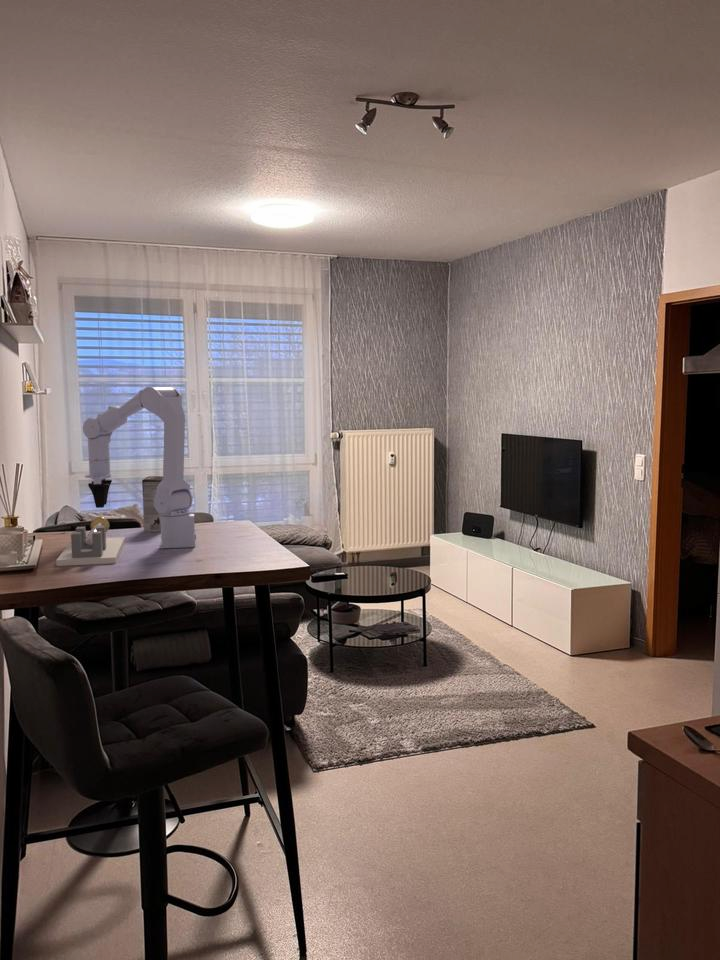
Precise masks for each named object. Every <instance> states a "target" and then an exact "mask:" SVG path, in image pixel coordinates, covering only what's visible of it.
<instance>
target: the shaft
mask: <svg viewBox="0 0 720 960" xmlns="http://www.w3.org/2000/svg"><path fill="white" fill-rule="evenodd" d="M97 526H105V530H106V533H107V532H108V531H109V529H110V522H109V520H108V519H107V518H106V517H103V516H97V517H95V518H93V519H92V521H91V522H90V531H89V533H88V534H87V535H86V538H85V543H86V544H87V545H92V544H93V542H92V533H93V532H94V531H96V527H97Z"/></svg>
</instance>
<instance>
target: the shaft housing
mask: <svg viewBox="0 0 720 960" xmlns="http://www.w3.org/2000/svg"><path fill="white" fill-rule="evenodd" d="M86 531H87V529H86V526H77V527H76V528H75V531H73V532H72V533H71V534H70V542H69V543H68V544H67V546H66V547H65V548H64V549H63V551H62V552H61V554H60V555H59V556H58V557H57V559H56V560H55V563H56V567H65V566H67V567H68V566H69V567H70V566H85V565H105V564H107V565H108V564H110V565H111V564H116V563H117V562H118V560H119V557H120V554H121V552H122V550H123V548H124V546H125V544H126V540H125V539H126V537H124V536H123V537H107V536H106V535H107V532H106V530H105V526H97V527H96V531H94V532H93V533H92V542H93V544H92V545H87V544H86V543H85V538H86V537H87V535H86V534H87V533H86Z"/></svg>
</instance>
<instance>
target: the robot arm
mask: <svg viewBox="0 0 720 960" xmlns="http://www.w3.org/2000/svg"><path fill="white" fill-rule="evenodd" d="M143 409H145V410H147V411H148V412H150V413H152V414H153V415H155V416H157V417H158V418H159V419H160V420H161V421H162V422H163V454H162V455H163V459H162V460H163V461H162V462H163V463H162V467H163V468H162V469H163V470H162V477H163V480H162V481H161V483H160V484H159V485H158V486H157V493H156V496H155V498H154V507H155V509H156V511H157V512H158V513H159V515H160V517H161V532H160V537H161V538H160V539H161V540H160V542H159V543H160V544H159V549H178V548H182V549H183V548H195V547H196V541H197V533H196V530H195V529H196V527H195V525H196V524H195V513H189V509H190V508H191V507H192V505H193V495H192V493H191V485H190V484H189V483H188V482H187V481H186V480H185V479H184V477H185V476H184V475H185V473H184V472H185V470H184V469H185V433H186V431H185V429H186V416H185V415H186V414H185V412H184V408H183V395H182V394H181V393H180V392H179V391H178V390H177V388H175V387H174V386H165V387H164V386H163V387H161V386H146V387H144V388H143V389H141V390H138V393H137V394H135V395H134V396H133V397H132V398H131V399H129V400H127V402H124V404H122V405H121V406H119V405H109V406H108V407H107V410H105V411H104V412H102V413H98V414H97V415H96V417H95V418H94V417H93V418H92V417H90V418H86V420H85V421H84V422H83V425H82V431H83V433H84V434H83V435H84V436H85V437H86V438H87V445H88V446H87V447H88V466H89V467H88V468H89V469H88V470H89V474H85V475H84V476H85V478H89V479H91V480H92V481H91V482H90V483H88V488H89V489H90V492H91V493H92V494H91V495H92V497H93V501H94V504H95V508H96V509H99V508H100V509H101V508H103V509H104V508H105V505H106V506H107V502H108V494H109V491H110V486H111V484H112V482H113V480H112V479H110V478H112V474H111V461H110V442H111V436H112V434H113V432H114V431H115V430H117V429H118V428H120V427H122V426H123V425H125V424H127V421H128V418H129V417H130V416H132V415H134V414H136V413H137V412H139V411H142V410H143Z"/></svg>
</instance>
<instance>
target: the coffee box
mask: <svg viewBox="0 0 720 960" xmlns="http://www.w3.org/2000/svg"><path fill="white" fill-rule="evenodd" d="M162 480H163V476H162V475H161V476H160V475H159V476H158V475H155V476H154V475H151V476H150V475H149V476H147V477H145V478H143V479H142V480H141V485H142V486H141V487H142V489H141V490H142V511H143V512H142V513H143V515H142V516H143V532H149V533H150V532H156V533H157V532H160V533H161V517H160V515H159V513H158V512H157V511H156V509H155V507H154V498H155V496H156V493H157V486H158V485H159V484H160V483H161V481H162Z"/></svg>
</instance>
